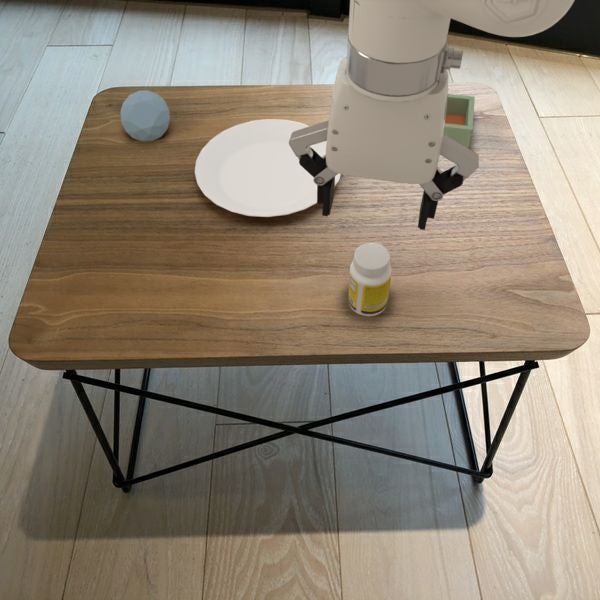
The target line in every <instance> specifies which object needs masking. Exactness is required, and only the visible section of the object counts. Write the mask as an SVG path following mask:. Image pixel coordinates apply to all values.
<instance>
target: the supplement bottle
mask: <svg viewBox="0 0 600 600" xmlns="http://www.w3.org/2000/svg"><path fill="white" fill-rule="evenodd" d="M353 254H354V255H353V260H352V262H351V263H350V266H349V276H348V277H349V279H348V296H347V301H348V305H349V307H350V309H351V310H352V311H353V312H354V313H356V314H358V315H360V316H362V317H375V316H378V315H380V314H382V313H383V312H384V311H385V310H386V308H387V307H388V302H389V295H390V288H391V280H392V275H393V271H392V265H391V254H390V251H389V250H388V248H387V247H385V245H383V244H380V243H378V242H366V243H362V244H361V245H359V246H358V247H356V249H355V250H354V253H353Z"/></svg>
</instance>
